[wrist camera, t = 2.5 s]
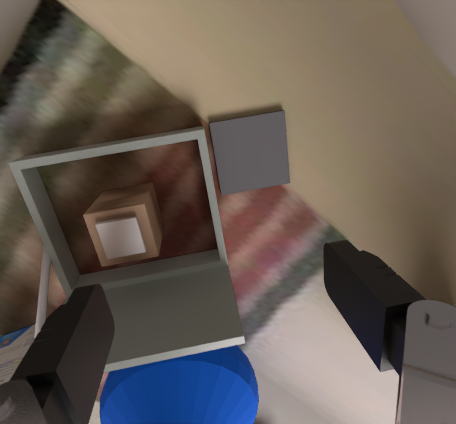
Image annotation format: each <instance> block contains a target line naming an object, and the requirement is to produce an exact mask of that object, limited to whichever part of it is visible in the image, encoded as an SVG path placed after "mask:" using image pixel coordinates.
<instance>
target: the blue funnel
mask: <svg viewBox="0 0 456 424" xmlns="http://www.w3.org/2000/svg"><path fill="white" fill-rule="evenodd" d="M258 402H259V396H258V385H257V381H256V377H255V373H254V370H253V368H252V366H251V364H250V362H249V360H248V358H247V356H246V355H245V354H244V353H243V352H242V350H241V349H240V348H239V347H238V346H237V345H234V346H229V347H224V348H220V349H215V350H210V351H205V352H200V353H196V354H191V355H186V356H181V357H176V358H172V359H167V360H162V361H157V362H152V363H148V364H143V365H138V366H133V367H128V368H123V369H119V370H114V371H110V372H109V374H108V377H107V379H106V381H105V384H104V388H103V391H102V394H101V397H100V420H101V424H254V421H255V417H256V414H257V409H258Z"/></svg>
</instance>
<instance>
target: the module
mask: <svg viewBox="0 0 456 424" xmlns="http://www.w3.org/2000/svg"><path fill="white" fill-rule="evenodd" d="M83 217H84V219H85V222H86V225H87V228H88V230H89V233H90V236H91V239H92V241H93V244H94V247H95V250H96V252H97V255H98V258H99V261H100V263H101V266H102V267H104V266H110V265H115V264H120V263H126V262H131V261H136V260H141V259H147V258H152V257H157V256H159V252H160V247H161V241H162V236H163V231H164V223H163V220H162V216H161V212H160V208H159V204H158V200H157V196H156V192H155V188H154V184H153V182H151V183H145V184H140V185H134V186H128V187H123V188H117V189H111V190H106V191H103V192H102V193H101V194H100V195H99V197H98V198H97V199H96V200H95V201H94V203H93V204H92V205H91V206H90V207H89V208H88V210H87V211H86V212H85V213H84V214H83Z"/></svg>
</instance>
